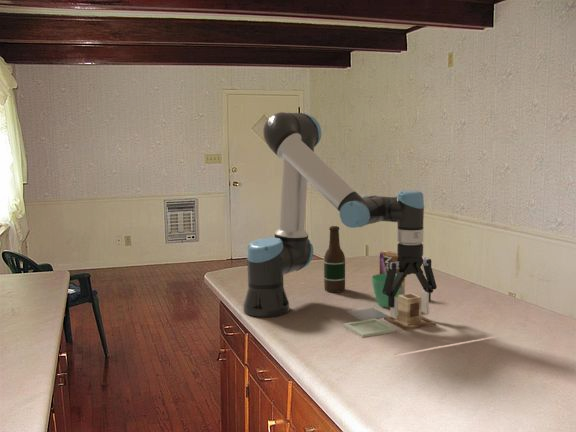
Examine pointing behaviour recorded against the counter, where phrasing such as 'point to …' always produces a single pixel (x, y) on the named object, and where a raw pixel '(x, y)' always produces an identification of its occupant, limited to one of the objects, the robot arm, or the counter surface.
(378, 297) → the mug
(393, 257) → the candy box
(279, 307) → the robot arm
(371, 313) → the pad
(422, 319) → the tray walnut
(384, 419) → the counter surface
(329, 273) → the beer bottle
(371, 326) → the tray sage
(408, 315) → the letter block
